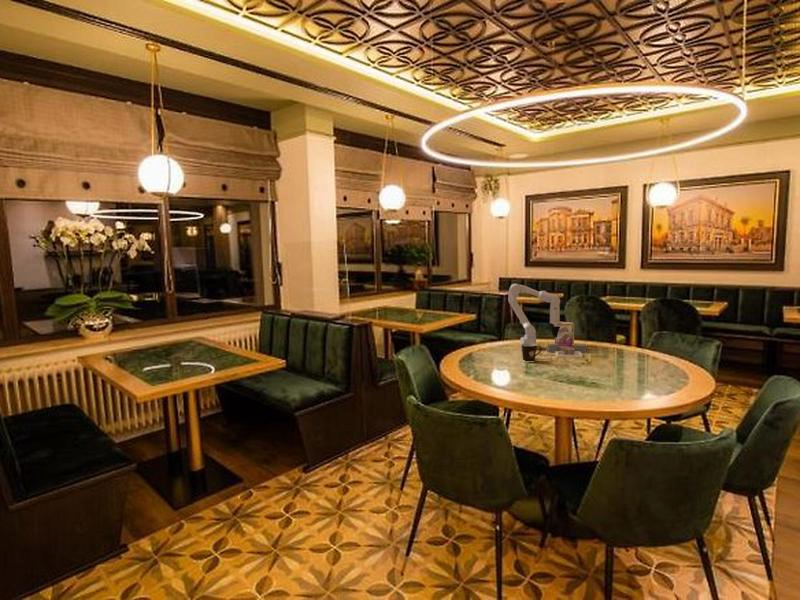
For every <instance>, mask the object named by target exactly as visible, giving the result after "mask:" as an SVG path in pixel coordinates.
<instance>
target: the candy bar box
mask: <svg viewBox="0 0 800 600" xmlns="http://www.w3.org/2000/svg"><path fill="white" fill-rule="evenodd" d="M561 322H562V323H559V325H558V326H560V329H559V331H558V336H557V337H554V344H558V345H559V347H563V348H572V347H575V322H571V321H570V322H567V321H561Z"/></svg>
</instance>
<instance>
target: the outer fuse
mask: <svg viewBox="0 0 800 600" xmlns="http://www.w3.org/2000/svg"><path fill="white" fill-rule="evenodd" d="M574 347H575V351H578V352H581V354H585V353H586V347H587V345H586V344H585V343H584V344H581V343H580V344H579V343H577V344H575V343H574Z"/></svg>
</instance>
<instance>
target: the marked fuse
mask: <svg viewBox="0 0 800 600" xmlns="http://www.w3.org/2000/svg"><path fill="white" fill-rule="evenodd" d="M562 351H563V354H562V355H576V354H575V349H574V348H572V347H563V348H562Z"/></svg>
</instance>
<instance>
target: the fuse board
mask: <svg viewBox="0 0 800 600" xmlns="http://www.w3.org/2000/svg"><path fill="white" fill-rule="evenodd" d="M571 348H574V349H575V346H573V347H571ZM545 349H546V350H545V351H546V352H545V354H549V353H548V346H546V348H545ZM588 350H589V348H588V346H586V353H584V354H590V353H589V351H588ZM559 351H562V346H559Z"/></svg>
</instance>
